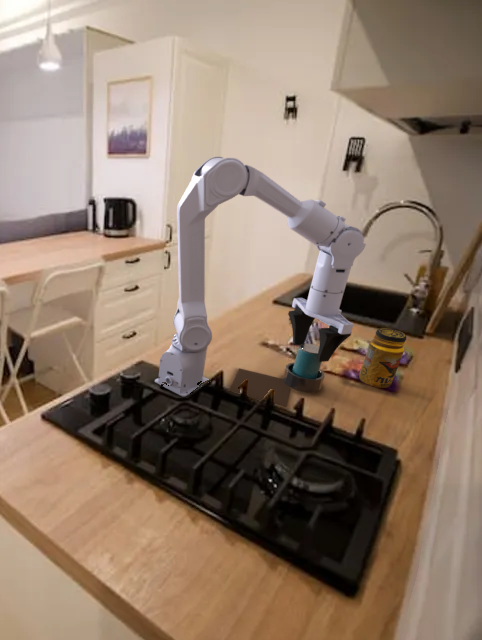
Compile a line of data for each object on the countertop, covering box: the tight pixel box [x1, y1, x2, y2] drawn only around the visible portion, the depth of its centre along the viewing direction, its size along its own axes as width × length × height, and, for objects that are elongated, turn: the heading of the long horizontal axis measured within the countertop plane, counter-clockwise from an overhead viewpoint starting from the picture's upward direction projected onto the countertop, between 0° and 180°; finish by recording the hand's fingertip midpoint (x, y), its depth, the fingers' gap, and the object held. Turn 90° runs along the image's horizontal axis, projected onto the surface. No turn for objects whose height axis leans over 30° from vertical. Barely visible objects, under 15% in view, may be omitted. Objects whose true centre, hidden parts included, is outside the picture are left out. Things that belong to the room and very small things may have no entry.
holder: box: [282, 362, 326, 393], centre depth 86 cm, size 7×7×4 cm
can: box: [292, 343, 323, 379], centre depth 85 cm, size 5×5×8 cm
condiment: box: [358, 327, 407, 389], centre depth 86 cm, size 7×8×12 cm
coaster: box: [228, 368, 291, 408], centre depth 85 cm, size 11×11×1 cm
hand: (310, 352), depth 83 cm, fingers open, 7 cm apart
